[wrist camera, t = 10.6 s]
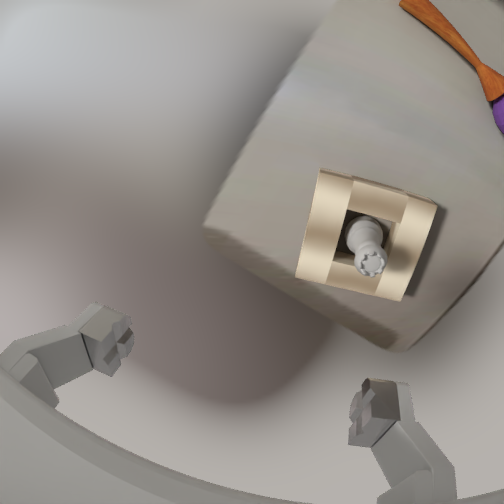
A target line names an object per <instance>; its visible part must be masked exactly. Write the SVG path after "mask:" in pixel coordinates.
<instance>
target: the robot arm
mask: <svg viewBox="0 0 504 504" xmlns="http://www.w3.org/2000/svg"><path fill="white" fill-rule="evenodd" d="M131 324H132V322H131V317H130V316H128V315H126V314H124V313H121V312H119V311H117V310H114V309H111V308H110V307H107V306H105V305H102V304H100V303H98V302H94V303H91V304H90V305H89V306H88V307H87V308H86V309H85V310H84V311H83V312H82V313H81V314H80V315H79V316H78V317H77V318H76V319H75V320H74V321H73V322H72V323H71V324H70V325H69V326H65V325H64V326H61V327H57V328H54V329H51V330H47V331H44V332H41V333H38V334H34V335H31V336H28V337H25V338H22V339H18V340H15V341H13V342H12V343H11V344H10V345H9V346H8V347H7V348H6V349H5V350H4V351H3V352H2V353H1V354H0V504H310V503H302V502H293V501H287V500H282V499H276V498H270V497H265V496H260V495H256V494H251V493H247V492H243V491H238V490H234V489H231V488H227V487H223V486H220V485H216V484H213V483H210V482H206V481H203V480H200V479H197V478H194V477H191V476H188V475H185V474H183V473H180V472H177V471H174V470H172V469H169V468H167V467H164V466H161V465H159V464H157V463H154V462H152V461H149V460H147V459H145V458H143V457H140V456H138V455H136V454H134V453H132V452H130V451H128V450H125V449H123V448H121V447H119V446H117V445H115V444H113V443H111V442H110V441H108V440H106V439H104V438H102V437H100V436H98V435H97V434H95V433H93V432H91V431H89V430H88V429H86V428H84V427H83V426H81V425H79V424H78V423H76V422H74V421H73V420H71V419H69V418H68V417H66V416H65V415H63V414H62V413H60V412H59V411H57V410H56V409H55V407H56V406H57V404H58V403H59V398H58V396H57V395H56V393H55V391H54V389H55V388H57V387H59V386H61V385H64V384H65V383H68V382H70V381H71V380H74V379H76V378H78V377H80V376H81V375H84V374H86V373H87V372H90V371H92V370H93V369H95V370H97V371H99V372H101V373H104V374H106V375H108V376H110V377H112V376H113V374H114V373H115V372H116V371H117V369H118V368H119V367H120V365H121V361H120V359H122V358H125V357H127V356H128V354H129V353H130V352H131V350H132V347H133V344H134V334H133V332H132V330H131V329H130V328H129V326H130V325H131ZM349 418H350V419H351V421H352V422H353V424H352V425H351V427H350V428H349V442H348V444H349V445H353V446H362V447H370V448H371V450H372V452H373V454H374V456H375V458H376V460H377V462H378V464H379V465H380V467H381V469H382V471H383V473H384V475H385V477H386V479H387V481H388V483H389V485H390V486H391V489H390V490H388V491H387V492H385V493H383V494H382V495H380V496H379V497H378V498H377V504H504V489H501V490H498V491H494V492H490V493H486V494H482V495H478V496H473V497H469V498H463V499H458V500H457V492H456V479H455V470H454V466H453V465H452V464H451V462H450V461H449V460H448V459H447V457H446V456H445V455H444V454H443V452H442V451H441V450H440V449H439V447H438V446H437V445H436V443H435V442H434V441H433V439H432V438H431V437H430V436H429V434H428V433H427V432H426V431H425V429H424V428H423V427H422V426H421V424H420V423H419V422H415V417H414V410H413V403H412V397H411V391H410V385H409V384H408V383H403V382H394V381H387V380H380V379H372V378H367V379H365V381H364V382H363V384H362V390H361V391H359V392H357V393H356V395H355V396H354V398H353V401H352V403H351V407H350V416H349Z"/></svg>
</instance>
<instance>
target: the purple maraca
mask: <svg viewBox="0 0 504 504" xmlns="http://www.w3.org/2000/svg"><path fill="white" fill-rule="evenodd" d="M399 6H400V7H402V8H403V9H405V10H406V11H408V12H409V13H410V14H412V15H413V16H415V17H416V18H417V19H419V20H420V21H422V22H423V23H424V24H426V25H427V26H428V27H429V28H431V29H432V30H433V31H435V32H436V33H437V34H438V35H440V36H441V37H442V38H443V39H444V40H446V41H447V42H448V43H449V44H450V45H451V46H453V47H454V48H455V49H456V50H457V51H458V52H459V53H460V54H462V55H463V56H464V57H465V58H466V59H467V60H468V61H469V62H470V63H471V64H472V65H473V66H474V67H475V68H476V70H477V73H478V76H479V78H480V81H481V84H482V87H483V90H484V93H485V96H486V99H487V101H492V100H494V99H495V100H494V102H493V116H494V119H495V123H496V124H497V126H498V127H499V129H500V130H501V132H502V133H503V134H504V76H502V75H501V74H499V73H498V72H496V71H495V70H493V69H491V68H490V67H488V66H486V65H485V64H483V63H482V62H481V61H480V60H479V58H478V57H477V56H476V54H475V53H474V52H473V50H472V49H471V48H470V46H469V45H468V44H467V43H466V41H465V40H464V39H463V38H462V36H461V35H460V34H459V33H458V32H457V30H456V29H455V28H454V27H453V26H452V25H451V23H450V22H449V21H448V20H447V19H446V18H445V17H444V16H443V15H442V13H441V12H440V11H439V10H438V9H437V8H436V7H435V6H434V5H433V4H432V3H431V2H430V1H429V0H401V1H400V3H399Z"/></svg>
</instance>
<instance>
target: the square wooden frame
mask: <svg viewBox="0 0 504 504" xmlns="http://www.w3.org/2000/svg"><path fill="white" fill-rule="evenodd" d="M347 209H348V210H352V211H356V212H360V213H364V214H367V215H371V216H375V217H379V218H382V219H386V220H389V221H393V222H392V225H391V228H390V231H389V234H388V237H387V240H386V243H385V246H384V250H385V252H386V254H387V261H388V262H387V264H386V267H385V268H384V271H383V272H382V273H381V274H377V275H375V277H372V278H370V276H364V275H362V274H361V273H360V272H358V271H357V269H356V267H355V264H354V259H355V255H352V254H348V253H344V252H340V251H336V246H337V243H338V239H339V236H340V232H341V229H342V225H343V222H344V218H345V214H346V210H347ZM436 209H437V205H436V204H435V203H434V202H432V201H431V200H430V199H429V198H426V197H423V196H420V195H417V194H414V193H411V192H408V191H404V190H401V189H398V188H395V187H391V186H388V185H384V184H381V183H377V182H374V181H370V180H367V179H363V178H359V177H356V176H352V175H348V174H344V173H340V172H336V171H332V170H328V169H324V168H320V169H319V174H318V179H317V183H316V188H315V193H314V197H313V202H312V206H311V211H310V215H309V219H308V224H307V228H306V232H305V236H304V240H303V245H302V249H301V253H300V257H299V261H298V265H297V270H296V275H295V277H297V278H301V279H305V280H309V281H314V282H318V283H322V284H326V285H331V286H335V287H339V288H343V289H348V290H352V291H356V292H361V293H365V294H369V295H374V296H378V297H382V298H387V299H391V300H395V301H401V299H402V297H403V295H404V292H405V290H406V288H407V286H408V283H409V281H410V279H411V276H412V274H413V272H414V269H415V267H416V264H417V262H418V259H419V257H420V254H421V252H422V249H423V246H424V244H425V241H426V238H427V236H428V233H429V230H430V227H431V224H432V221H433V218H434V215H435V212H436Z"/></svg>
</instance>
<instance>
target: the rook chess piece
mask: <svg viewBox="0 0 504 504" xmlns="http://www.w3.org/2000/svg"><path fill="white" fill-rule="evenodd" d="M344 235H345V241H346V244H347V246H348V247H349V249H350V250H351V251H352V252H354V253H355V259H354V264H355V267H356V269H357V271H358V272H360V273H361V274H362V275H364V276H370V278H372V277H375V275H377V274H381V273H382V272H383V271H384V268H385V267H386V264H387V262H388V261H387V254H386V252H385V250H384V249H382V248H381V244H382V241H383V232H382V228H381V226H380V225H379V223H378V222H377V221H376V220H375V219H373V218H371V217H367V216H361V217H357V218H355V219H353V220H351V221H350V223H349V224H348V225H347V226H346V230H345V233H344Z"/></svg>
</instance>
